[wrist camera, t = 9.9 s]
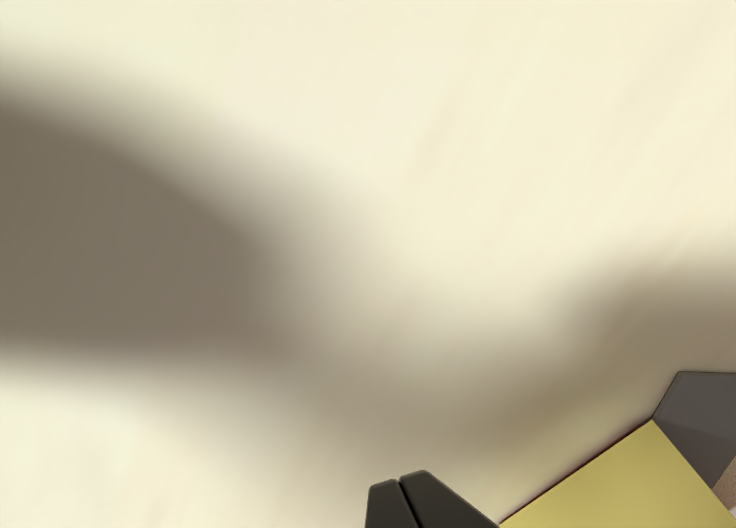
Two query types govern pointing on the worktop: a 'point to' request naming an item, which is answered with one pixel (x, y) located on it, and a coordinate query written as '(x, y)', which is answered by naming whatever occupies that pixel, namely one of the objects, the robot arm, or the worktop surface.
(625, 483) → the baking soda box
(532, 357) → the worktop surface
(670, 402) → the mat
